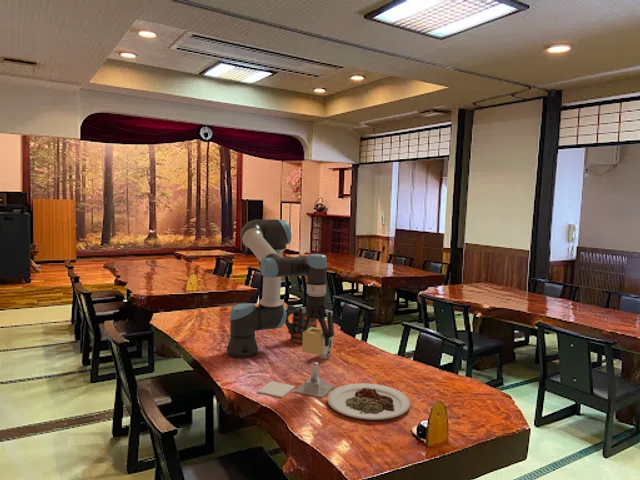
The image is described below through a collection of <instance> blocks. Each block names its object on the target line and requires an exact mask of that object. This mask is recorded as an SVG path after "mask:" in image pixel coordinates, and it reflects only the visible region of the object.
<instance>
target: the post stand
mask: <svg viewBox="0 0 640 480" xmlns="http://www.w3.org/2000/svg"><path fill="white" fill-rule="evenodd" d="M319 368H320V363H319V362H318V361H312V362H311V363H310V377H309V378H308V379H306V380H305V381H304V382H303V383H302V384H301V385H299V386H297V387H296V388H295V389H293V393H295V394H300V395H306V396H309V397H315V398H319V399H323V398H324V397H326V395H328V394H329V393H330V392H331V391H332V390H334V389H335V385H334V384H329V383H326V379H324V378H319V377H320V374H319V373H320V371H319V370H320V369H319Z"/></svg>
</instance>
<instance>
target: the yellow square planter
mask: <svg viewBox="0 0 640 480" xmlns="http://www.w3.org/2000/svg"><path fill="white" fill-rule="evenodd" d="M323 338H324V334H323V331H322V328H321V327H317V328H314V327H310V328H308V329H307V330H305V331H303V342H302V344H301V345H302V352H301V353H305V354H312V355H317V356H318V355H321V354H322V347H323ZM327 349H328V346H327Z"/></svg>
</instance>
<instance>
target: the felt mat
mask: <svg viewBox="0 0 640 480" xmlns="http://www.w3.org/2000/svg"><path fill="white" fill-rule="evenodd" d="M295 389H297V387H296V385H292V384H287V383H282V382H277V381H272V380H271V381H270V382H268V383H267V384H265V385H264V386H262V387H261V388H259V389H258V390H256V392H257V393H258V394H261V395H266V396H271V397H277V398H281V399H282V398H284V397H285V396H286V395H288V394H290V392H292V391H294V390H295Z"/></svg>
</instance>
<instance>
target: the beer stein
mask: <svg viewBox="0 0 640 480" xmlns="http://www.w3.org/2000/svg"><path fill="white" fill-rule="evenodd" d="M299 308H301V306H300V307H296V306H294V305H292V304H287V307H286V312H287V316H286V321H285V324H284V325H285V327H286V328H287V329H288V331H287V332H288V333H289V335H290V341H291V342H292V343H296V344H301V345H302V341H301V340H302V335H301V333H298V332H297V328H298V321H299ZM290 315H292V319H291V320H292V321H291V322H290V320H289V316H290ZM307 316H308V313H307V311H306V312H305V317H304V323H303V327H304V325H305V322H306V320H307ZM317 324H318V319H315V318H313V319H312V320H311V323H310V325H309V328H310V327H314V328H318V326H317Z"/></svg>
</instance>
